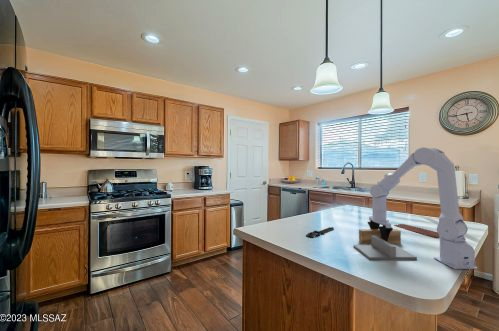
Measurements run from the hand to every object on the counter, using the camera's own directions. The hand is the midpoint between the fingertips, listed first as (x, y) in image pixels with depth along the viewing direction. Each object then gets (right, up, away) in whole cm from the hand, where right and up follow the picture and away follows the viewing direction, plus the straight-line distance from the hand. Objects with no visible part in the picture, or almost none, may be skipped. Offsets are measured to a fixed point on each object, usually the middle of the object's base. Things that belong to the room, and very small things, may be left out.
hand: (379, 239), depth 108 cm
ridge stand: (-6, -2, -13) cm, 14 cm away
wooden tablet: (+32, -2, +19) cm, 37 cm away
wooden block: (0, -2, 0) cm, 2 cm away
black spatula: (-22, -2, +17) cm, 28 cm away
